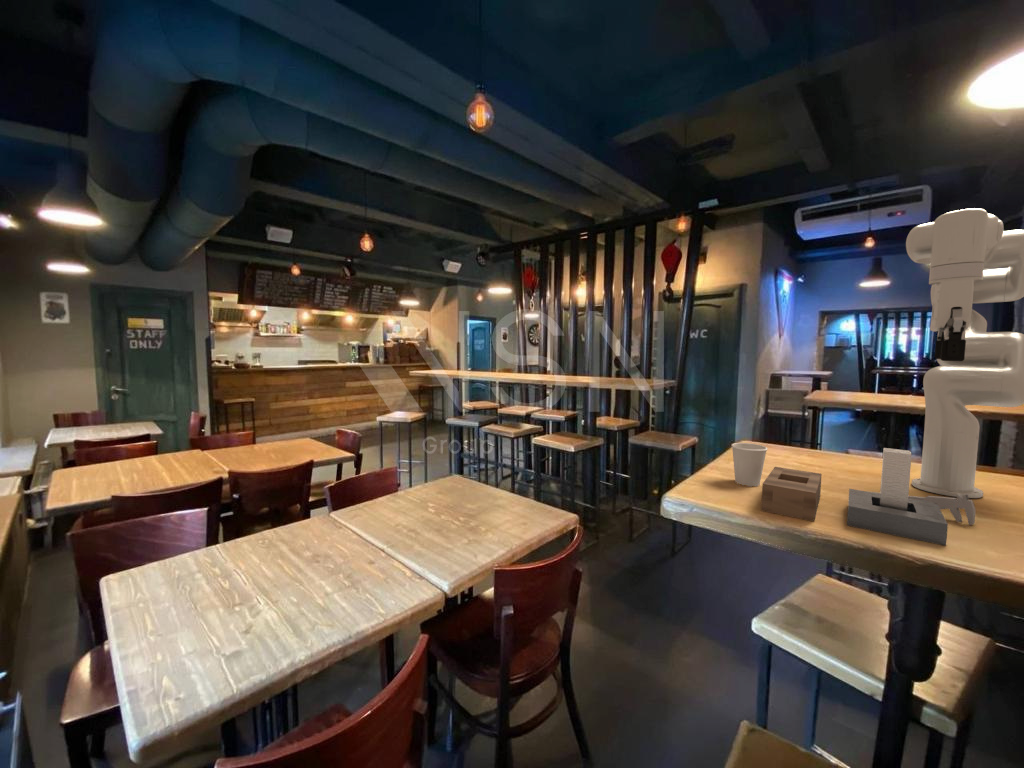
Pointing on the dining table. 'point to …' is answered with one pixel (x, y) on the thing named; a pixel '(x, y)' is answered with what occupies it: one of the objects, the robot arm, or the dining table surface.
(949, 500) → the caliper
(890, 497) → the rectangular block
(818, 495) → the slotted block
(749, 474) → the dixie cup
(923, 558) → the dining table surface
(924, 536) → the seat block
